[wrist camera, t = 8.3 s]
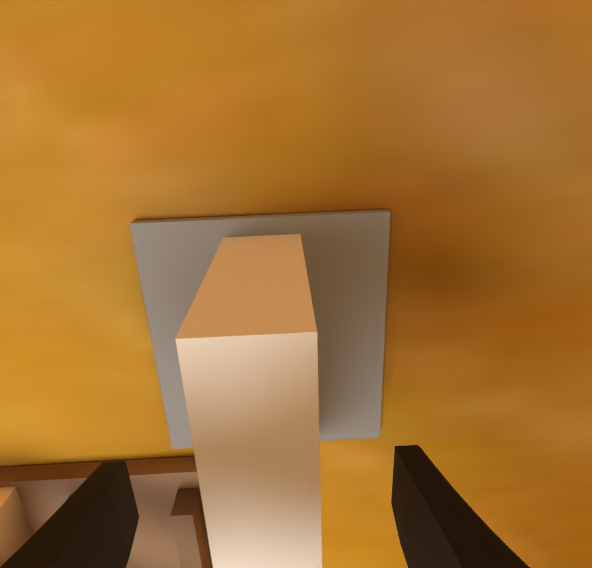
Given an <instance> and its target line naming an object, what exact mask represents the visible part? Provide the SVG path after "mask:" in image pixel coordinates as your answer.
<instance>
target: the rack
mask: <svg viewBox="0 0 592 568" xmlns="http://www.w3.org/2000/svg"><path fill="white" fill-rule="evenodd" d="M118 461H126V464H127V468H128V472H129V477H130V481H131V485H132V489H133V493H134V497H135V501H136V505H137V509H138V513H139V520H138V525H137V529H136V533H135V537H134V541H133V545H132V549H131V553H130V557H129V560H128V563H127V566H126V568H213V565H212V559H211V553H210V547H209V541H208V535H207V529H206V522H205V516H204V510H203V504H202V498H201V492H200V486H199V480H198V474H197V468H196V462H195V456H191V457H172V458H154V459H136V460H118ZM102 462H115V461H100V462H82V463H64V464H46V465H27V466H9V467H0V488H1V487H16V489H17V492H18V494H19V497H20V500H21V502H22V505H23V507H24V510H25V513H26V515H27V518H28V520H29V523H30V526H31V528H32V531H33V533H35V532H36V531H37V530H38V529H39V528H40V527H41V526H42V525H43V524H44V523H45V522H46V521H47V520H48V519H49V518H50V517H51V516H52V515H53V514H54V513H55V512H56V511H57V510H58V509H59V508H60V507H61V506H62V505H63V503H64V502H65V501H66V500H67V499H68V498H69V497H70V496H71V495H72V494H73V493H74V492H75V491H76V490H77V489H78V488H79V486H80V485H81V484H82V483H83V482H84V481H85V480H86V479H87V478H88V477H89V476H90V475H91V474H92V473H93V472H94V471H95V470H96V469H97V468H98V467H99V466H100V465H101V463H102Z"/></svg>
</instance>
